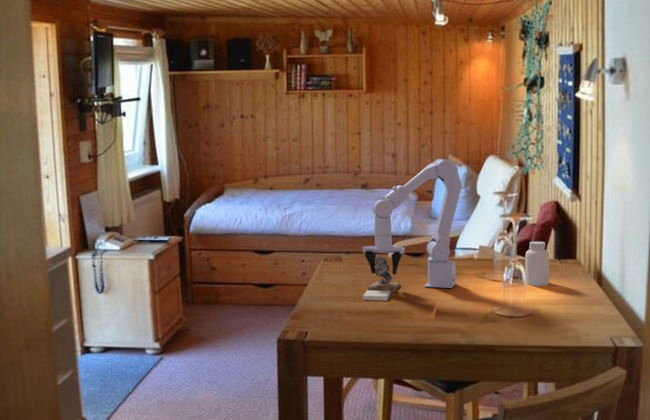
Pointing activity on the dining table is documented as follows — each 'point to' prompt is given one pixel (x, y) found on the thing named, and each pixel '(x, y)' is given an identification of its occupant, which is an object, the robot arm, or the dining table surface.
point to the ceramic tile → (376, 295)
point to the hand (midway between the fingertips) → (384, 273)
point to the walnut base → (384, 287)
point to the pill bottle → (537, 265)
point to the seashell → (382, 270)
